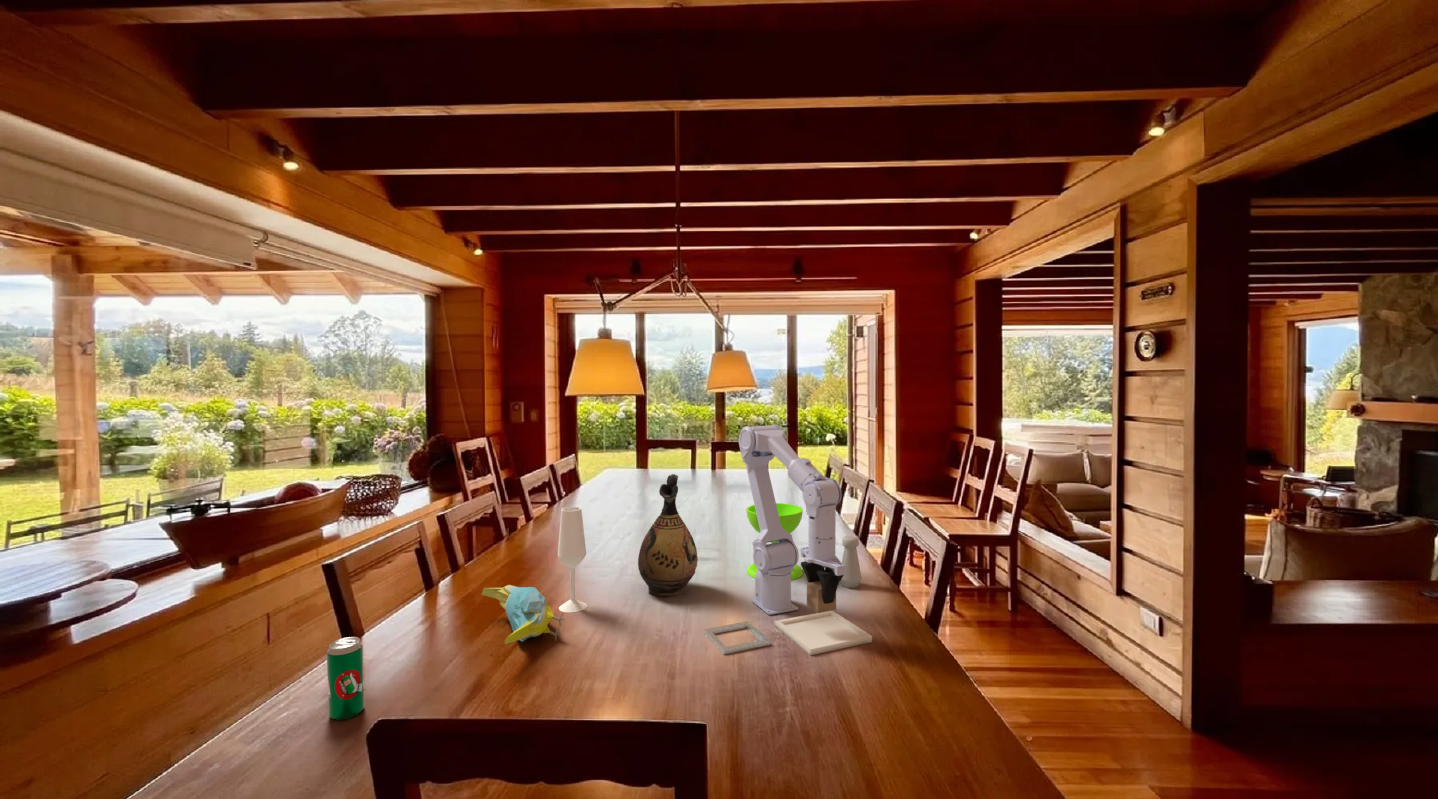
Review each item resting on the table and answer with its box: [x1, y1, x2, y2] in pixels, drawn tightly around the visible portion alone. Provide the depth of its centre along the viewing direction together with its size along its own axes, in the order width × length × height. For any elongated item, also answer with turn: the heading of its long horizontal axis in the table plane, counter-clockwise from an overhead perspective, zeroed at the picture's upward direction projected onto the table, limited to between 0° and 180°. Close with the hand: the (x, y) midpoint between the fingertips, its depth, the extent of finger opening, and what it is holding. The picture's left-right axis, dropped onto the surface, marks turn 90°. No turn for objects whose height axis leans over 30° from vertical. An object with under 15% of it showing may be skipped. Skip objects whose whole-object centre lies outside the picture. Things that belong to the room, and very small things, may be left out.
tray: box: [774, 610, 873, 656], centre depth 128 cm, size 15×15×1 cm
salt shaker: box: [840, 535, 862, 589], centre depth 157 cm, size 6×6×13 cm
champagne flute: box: [557, 506, 588, 614], centre depth 143 cm, size 7×7×24 cm
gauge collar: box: [703, 620, 771, 655], centre depth 125 cm, size 10×10×1 cm
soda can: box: [326, 636, 366, 721], centre depth 98 cm, size 5×5×12 cm
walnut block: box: [806, 581, 837, 613], centre depth 127 cm, size 4×4×5 cm
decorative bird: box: [481, 584, 566, 645], centre depth 128 cm, size 14×30×9 cm, turn 29°
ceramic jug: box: [637, 473, 698, 598], centre depth 155 cm, size 17×15×30 cm
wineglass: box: [745, 502, 804, 581], centre depth 168 cm, size 16×16×18 cm
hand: (821, 598), depth 127 cm, fingers closed on walnut block, 4 cm apart
